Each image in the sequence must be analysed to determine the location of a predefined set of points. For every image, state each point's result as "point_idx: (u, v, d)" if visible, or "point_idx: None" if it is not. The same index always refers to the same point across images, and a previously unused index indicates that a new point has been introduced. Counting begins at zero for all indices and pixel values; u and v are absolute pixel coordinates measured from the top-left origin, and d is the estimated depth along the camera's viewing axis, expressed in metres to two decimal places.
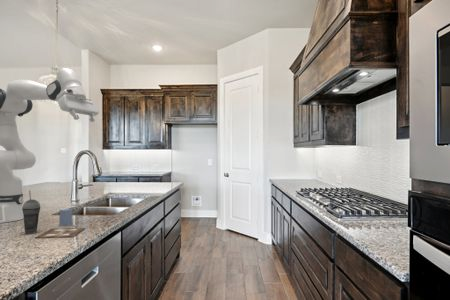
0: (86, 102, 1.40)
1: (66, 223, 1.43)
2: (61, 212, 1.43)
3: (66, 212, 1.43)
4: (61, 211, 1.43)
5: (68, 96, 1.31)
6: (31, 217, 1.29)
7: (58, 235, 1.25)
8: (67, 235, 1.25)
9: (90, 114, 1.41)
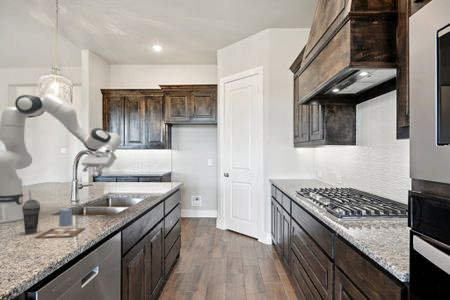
0: None
1: (66, 223, 1.43)
2: (61, 212, 1.43)
3: (66, 212, 1.43)
4: (61, 211, 1.43)
5: None
6: (31, 217, 1.29)
7: (58, 235, 1.25)
8: (67, 235, 1.25)
9: (87, 165, 1.63)
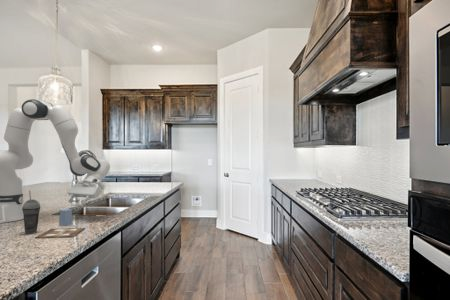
0: None
1: (66, 223, 1.43)
2: (61, 212, 1.43)
3: (66, 212, 1.43)
4: (61, 211, 1.43)
5: None
6: (31, 217, 1.29)
7: (58, 235, 1.25)
8: (67, 235, 1.25)
9: (73, 195, 1.56)
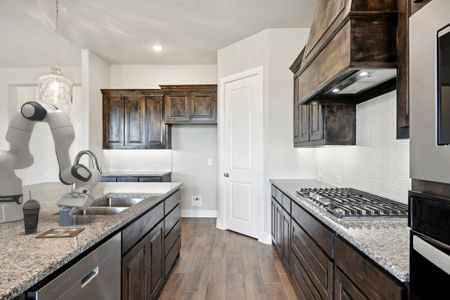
0: None
1: (66, 223, 1.43)
2: (61, 212, 1.43)
3: (66, 212, 1.43)
4: (61, 211, 1.43)
5: None
6: (31, 217, 1.29)
7: (58, 235, 1.25)
8: (67, 235, 1.25)
9: (65, 207, 1.48)
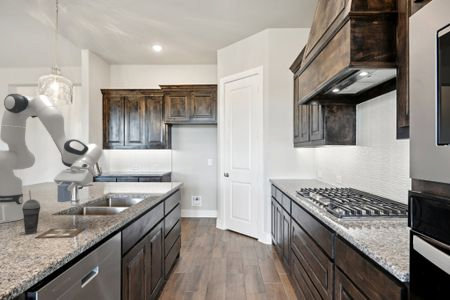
0: None
1: (64, 199, 1.32)
2: (59, 187, 1.32)
3: (65, 187, 1.32)
4: (59, 186, 1.32)
5: None
6: (31, 217, 1.29)
7: (58, 235, 1.25)
8: (67, 235, 1.25)
9: (63, 183, 1.37)
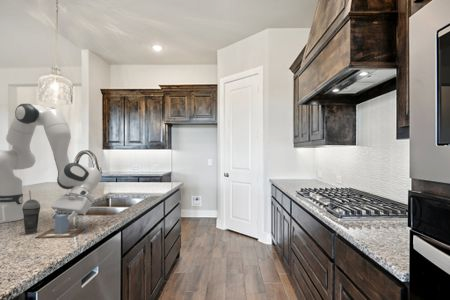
0: None
1: (62, 230, 1.28)
2: (56, 218, 1.28)
3: (62, 218, 1.28)
4: (57, 217, 1.28)
5: None
6: (31, 217, 1.29)
7: (58, 235, 1.25)
8: (67, 235, 1.25)
9: (58, 210, 1.34)
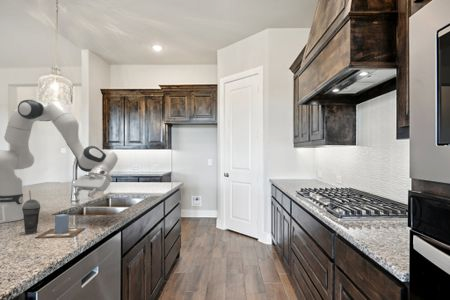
0: None
1: (62, 230, 1.28)
2: (56, 218, 1.28)
3: (62, 218, 1.28)
4: (57, 217, 1.28)
5: None
6: (31, 217, 1.29)
7: (58, 235, 1.25)
8: (67, 235, 1.25)
9: (79, 188, 1.45)
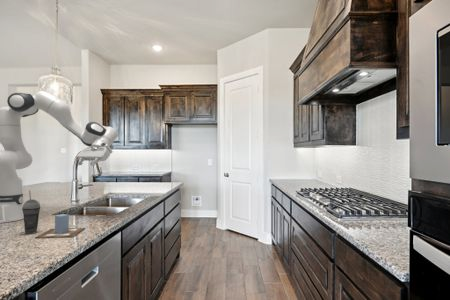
0: None
1: (62, 230, 1.28)
2: (56, 218, 1.28)
3: (62, 218, 1.28)
4: (57, 217, 1.28)
5: None
6: (31, 217, 1.29)
7: (58, 235, 1.25)
8: (67, 235, 1.25)
9: (83, 159, 1.61)
